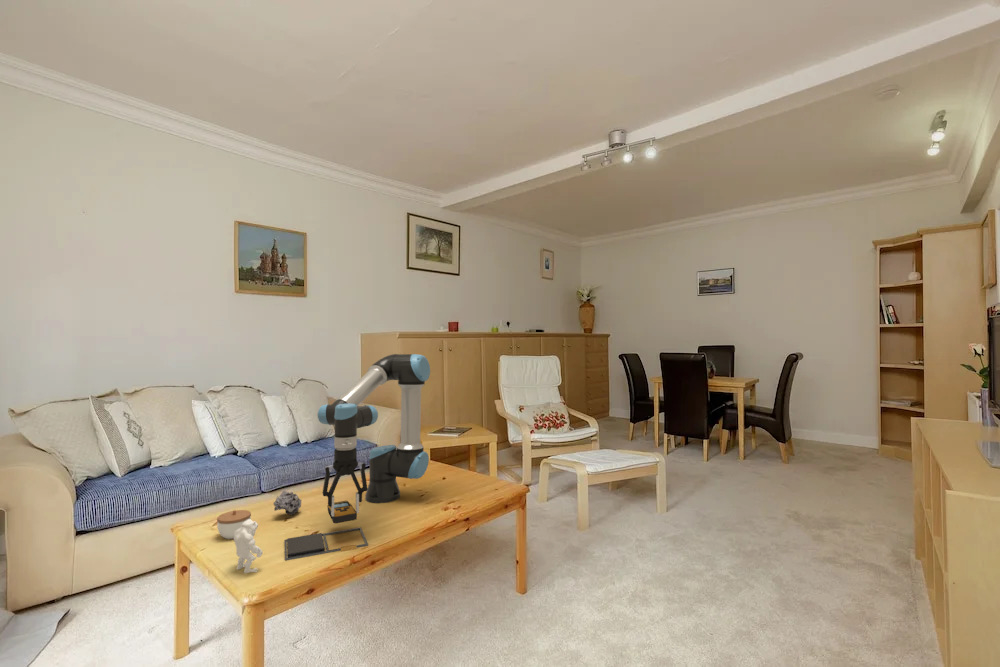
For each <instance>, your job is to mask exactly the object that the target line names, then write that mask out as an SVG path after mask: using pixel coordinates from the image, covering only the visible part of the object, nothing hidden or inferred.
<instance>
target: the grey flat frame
mask: <svg viewBox="0 0 1000 667" xmlns="http://www.w3.org/2000/svg"><path fill="white" fill-rule="evenodd" d="M356 531H359V532H360V534H361V536H362V539H363V541H364V543H363V544H356V543H355V544H351V545H350V544H349V545H345V546H340V547H338V548H334V549H329V546H328V541H327V536H332V535H337V534H344V533H350V532H356ZM367 546H369V543H368V539H367V538H366V535H365V533H364V531H363V529H362V527H356V528H355V527H354V528H349V529H344V530H343V529H342V530H341V529H340V530H336V531H331V532H325V533H322V532H320V533H319V532H318V533H313V534H307V535H300V536H294V537H287V539H284V561H285V562H286V561H290V560H296V559H301V558H309V557H312V556H313V557H314V556H318V555H325V554H328V553H329V554H330V553H335V552H347V551H352V550H357V549H358V548H363V547H367Z"/></svg>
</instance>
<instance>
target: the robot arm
mask: <svg viewBox="0 0 1000 667" xmlns="http://www.w3.org/2000/svg"><path fill="white" fill-rule="evenodd" d="M430 376H431V367H430V362H429V360H428V358H427V357H426V356H424V355H423V354H418V353H417V354H416V353H411V354H410V353H409V354H406V353H403V354H402V353H400V354H399V353H394V354H393V353H392V354H388V355H386V356H384V357H382V358H380V359H378V360H377V361H376V362H374V363H372V365H370V366H369V367H368V369H367V372H366V373H365V374H364V375H362V377H361V378H359V379H358V380H357V381H355V383H354V384H353V385H351V387H349V388H348V389H347V390H346V391H345V392H344V393H342V395H340V396H339V397H338V398H337V399H336V400H334V401H333V403H332V404H331V403H330V404H329V403H328V404H322V405H321V406H320V407H319V408H318V411H317V418H318V422H320V424H323V425H329V426H334V442H333V443H334V448H335V449H334V452H333V454H334V456H333V463H332V464H331V465H325V466H324V471H325V475H324V481H323V488H322V496H323V497H326V498H327V506H329V507H330V506H331V515H332V517H333V516H334V503H335V496H334V493H335V490H336V488H337V485H338V482H339V481H340V478H341V477H344V476H351V479H352V481H353V483H354V485H355V487H356V490H357V491H356V492H355V511H356V513H357V514H359V513H360V503H362V502H363V493H364V492H366V493H365V495H364V496H365V500H364V501H366V502H368V503H370V504H387V503H388V504H389V503H392V502H395V501H398V500H399V499H400V497H401V491H400V488H399V485H398V482H397V478H404V479H410V480H411V479H415V480H417V479H421V478H422V477H423V476H424V475H425V473H426V471H427V469H428V466H429V459H430V457H429V454H428V452H426V451H425V450H424V448H425V447H424V445H423V444H422V443H421V426H422V425H421V421H422V420H421V415H422V414H421V412H422V388H423V387H424V386H425V384H426V382H427V381H428V380H429V378H430ZM388 381H397V385H398V386H399V387H400V389H401V394H400V398H401V399H400V404H401V405H400V443H399V444H398V445H397V446H396V445H395V444H386V445H380V446H377V447H373V448H372V449H371V450H370V451H369V458H368V460H369V463H368V464H369V465H368V466H369V471H368V472H369V482H368V484H367V477H366V467H367V466H366V462H364V461H362V462H358V461H357V460H358V459H357V452H358V451H357V450H358V448H356V447H357V446H358V444H357V442H358V441H357V438H358V437H357V435H358V432H357V430H358V429H359V428H360V429H361V428H364V427H369V426H372V425H374V424H375V423H376V422H377V421H378V418H379V413H378V410H377V408H376V407H375V406H373V405H371V404H370V405H369V404H367V405H366V404H364V405H363V406H362V405H361V403H362V402H364V401H365V399H367V398H368V397H369V396H370V395H371V394H372V393H373V392H374V391H375V390H376V389H377V388H378V387H379V386H381V385H385V384H386V383H387V382H388ZM360 405H361V406H360ZM357 467H358V469H359V471H360V477H361V483H362V487H361V485H360V482H359V481H358V479H357V476H356V474H355V472H354V471H355V470H356V469H357ZM333 469H334V471H335V475H334V479H333V480H332V482H331V486H330V488H329V481H330V476H331V472H332V471H333ZM328 488H329V490H328Z"/></svg>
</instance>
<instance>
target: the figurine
mask: <svg viewBox="0 0 1000 667" xmlns="http://www.w3.org/2000/svg"><path fill="white" fill-rule="evenodd" d="M258 527H259V524H258V522H257V521H256V520H254V521H253V520H252V519H248V520H247V521H245V522H243V523H242V527H241V528H239V529H237V530H236V531H235V532H234V539H233V540H234V541H233V542H234V544H235V549H236V556H237V557H239V558H238V559H237V566H236V570H241V569H243V568H244V571H243V574H248V573H257V572H258V570H259V568H257V567H255V568H251V565H252V563H253V561H255V560H257V558H261V557H262V555H263V550H262V549H261V547H259V546H258V545H256V540H255V538H254V536H255V535H256V530H257V529H258ZM254 554H255V555H256V556H255V555H254ZM245 561H246V562H245Z"/></svg>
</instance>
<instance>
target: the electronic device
mask: <svg viewBox="0 0 1000 667" xmlns="http://www.w3.org/2000/svg"><path fill="white" fill-rule="evenodd" d="M326 508H327V512H328V515H329V517H330V519H331V521H332V523H333V524H336V525H337V524H341V523H347V522H353V521H355V520H357V519H358V513H356V508H354V507H353V505H352V504H351V503H350V502H349V501H348V500H341V501H337V502H336V501H334V516H333V517H332V515H331V506H330V507H329V506H328V505H327V507H326Z"/></svg>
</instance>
